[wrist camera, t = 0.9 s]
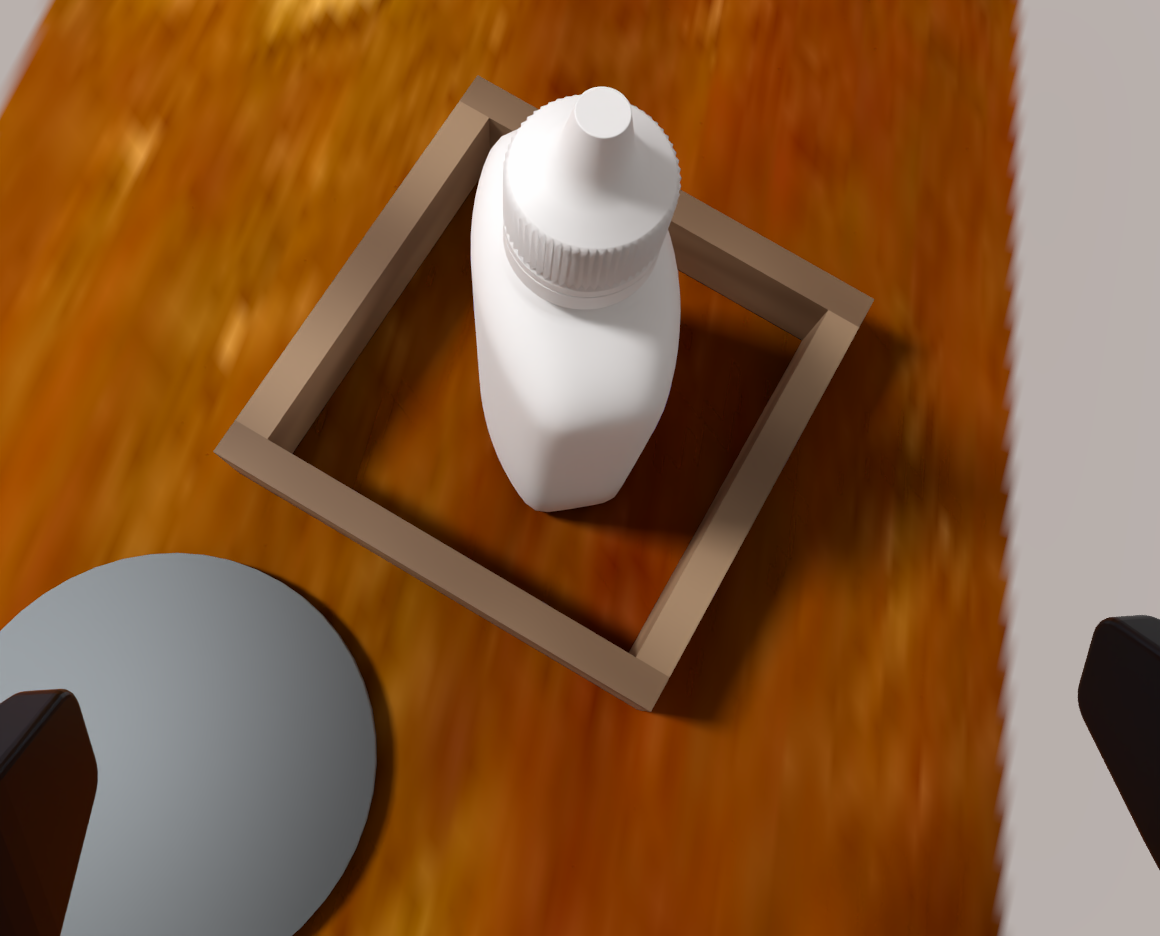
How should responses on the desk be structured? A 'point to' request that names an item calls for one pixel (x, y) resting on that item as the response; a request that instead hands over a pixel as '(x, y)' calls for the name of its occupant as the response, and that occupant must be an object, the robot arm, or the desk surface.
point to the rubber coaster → (203, 744)
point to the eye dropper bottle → (576, 295)
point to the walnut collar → (265, 456)
